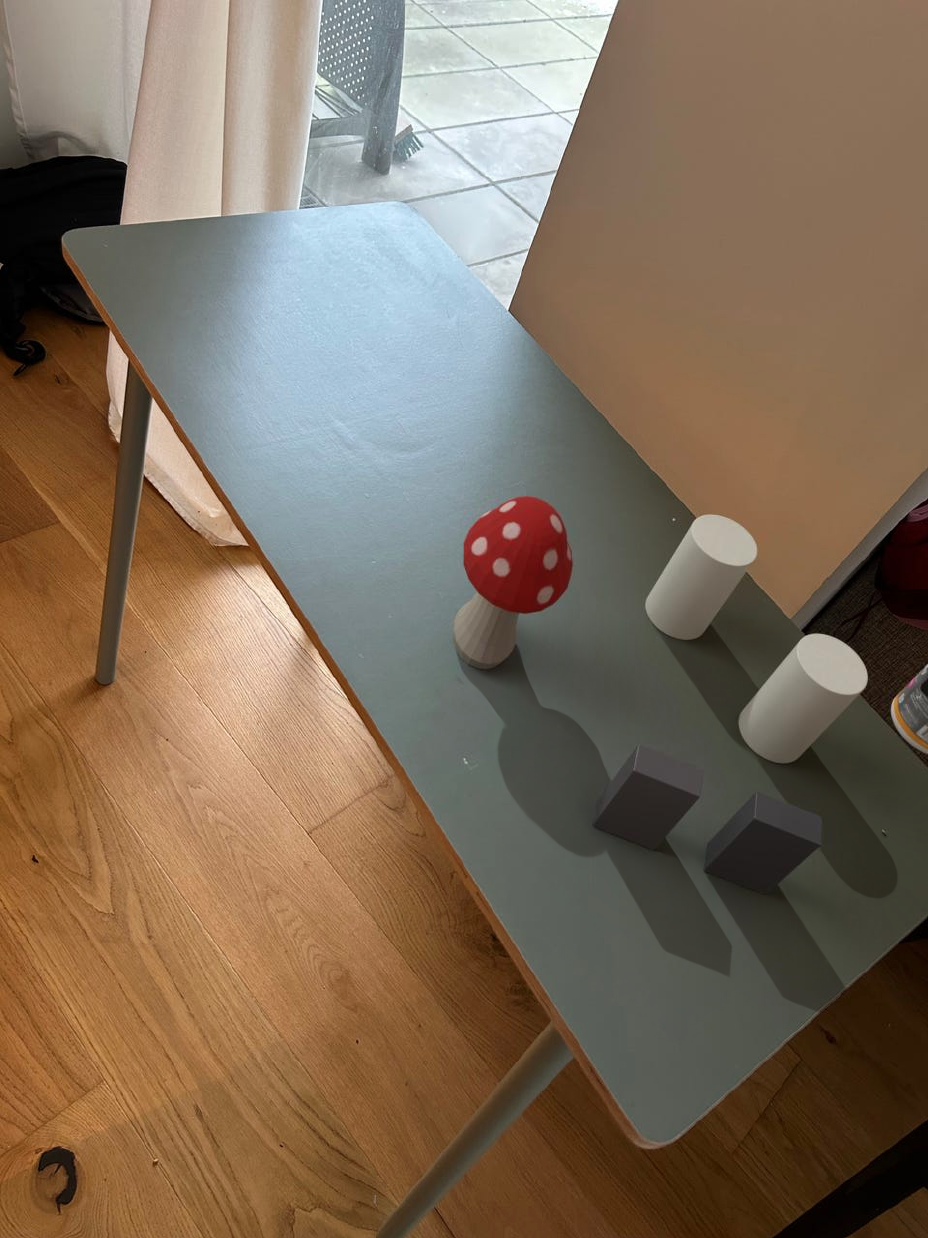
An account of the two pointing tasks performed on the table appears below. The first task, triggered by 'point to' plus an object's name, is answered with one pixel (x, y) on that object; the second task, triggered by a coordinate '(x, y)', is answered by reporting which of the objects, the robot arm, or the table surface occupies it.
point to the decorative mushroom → (510, 576)
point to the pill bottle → (912, 712)
